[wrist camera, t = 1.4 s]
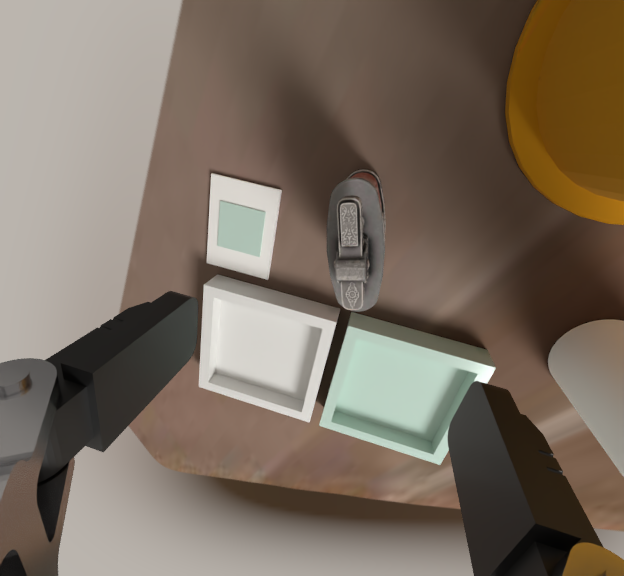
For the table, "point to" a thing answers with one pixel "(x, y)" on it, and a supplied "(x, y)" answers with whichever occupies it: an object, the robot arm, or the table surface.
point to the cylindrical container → (595, 380)
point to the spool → (571, 105)
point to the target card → (242, 225)
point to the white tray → (264, 345)
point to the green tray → (401, 386)
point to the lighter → (356, 240)
